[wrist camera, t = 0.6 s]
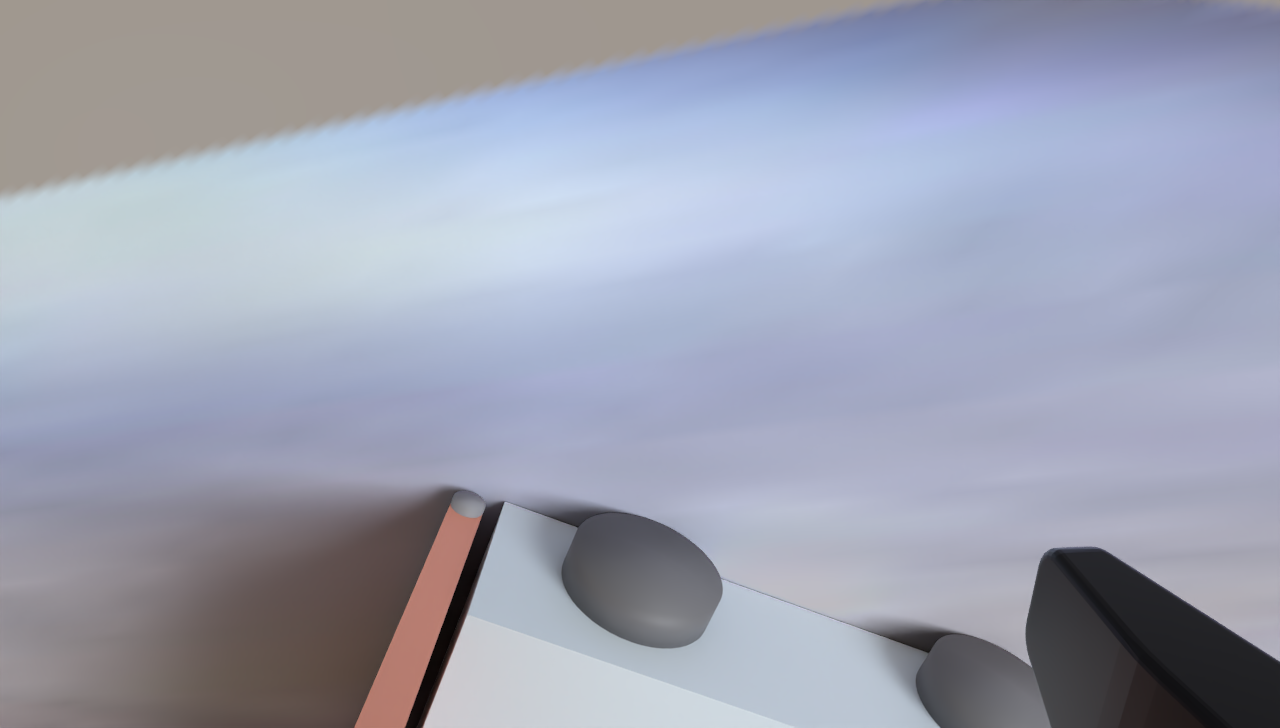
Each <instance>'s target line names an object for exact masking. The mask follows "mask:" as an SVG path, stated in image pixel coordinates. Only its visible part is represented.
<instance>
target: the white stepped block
mask: <svg viewBox="0 0 1280 728" xmlns="http://www.w3.org/2000/svg"><path fill="white" fill-rule="evenodd" d="M417 728H1051V727H1050V723H1049V720H1048V717H1047V714H1046V711H1045V707H1044V704H1043V701H1042V698H1041V694H1040V691H1039V688H1038V685H1037V682H1036V678H1035V675H1034V672H1033V669H1032V668H1031V667H1030V666H1029V665H1028V664H1026V663H1025V662H1023V661H1022V660H1020V659H1019V658H1018V657H1016V656H1014V655H1013V654H1011V653H1009V652H1008V651H1006V650H1004V649H1002V648H1000V647H998V646H996V645H994V644H992V643H990V642H987V641H985V640H982V639H979V638H976V637H972V636H967V635H961V634H952V635H946V636H943V637H941V638H940V639H938V640H937V642H936V643H935V644H934V646H933V648H932V649H931V651H930V652H929V653H927V652H924V651H921V650H919V649H916V648H913V647H910V646H907V645H905V644H902V643H899V642H896V641H893V640H891V639H888V638H885V637H882V636H879V635H877V634H874V633H871V632H868V631H865V630H863V629H860V628H857V627H854V626H852V625H849V624H846V623H843V622H840V621H838V620H835V619H832V618H829V617H826V616H824V615H821V614H818V613H815V612H812V611H810V610H807V609H804V608H801V607H798V606H796V605H793V604H790V603H787V602H784V601H782V600H779V599H776V598H773V597H770V596H768V595H765V594H762V593H759V592H756V591H754V590H751V589H748V588H745V587H743V586H740V585H737V584H734V583H731V582H729V581H726V580H723V579H721V578H720V575H719V573H718V571H717V569H716V567H715V566H714V564H713V563H712V561H711V560H710V559H709V558H708V557H707V555H706V554H705V553H704V552H703V551H702V550H701V549H700V548H698V547H697V546H696V545H695V544H694V543H692V542H691V541H690V540H688V539H687V538H686V537H684V536H683V535H681V534H679V533H678V532H676V531H674V530H673V529H671V528H669V527H667V526H665V525H662V524H660V523H658V522H655V521H653V520H650V519H647V518H644V517H640V516H636V515H630V514H624V513H605V514H599V515H595V516H593V517H590V518H588V519H587V520H585V521H584V522H583V523H582V524H581V525H580V526H579V528H578V527H575V526H572V525H569V524H566V523H564V522H561V521H558V520H555V519H552V518H550V517H547V516H544V515H541V514H538V513H536V512H533V511H530V510H527V509H524V508H522V507H519V506H516V505H513V504H511V503H508V502H505V503H504V505H503V508H502V510H501V513H500V515H499V518H498V520H497V523H496V526H495V528H494V531H493V533H492V536H491V538H490V541H489V544H488V546H487V549H486V551H485V554H484V556H483V559H482V562H481V564H480V567H479V569H478V572H477V574H476V577H475V579H474V582H473V585H472V587H471V590H470V592H469V595H468V597H467V600H466V603H465V605H464V608H463V610H462V613H461V615H460V618H459V621H458V623H457V626H456V628H455V631H454V633H453V636H452V639H451V641H450V644H449V646H448V649H447V651H446V654H445V656H444V659H443V662H442V664H441V667H440V669H439V672H438V674H437V677H436V680H435V682H434V685H433V687H432V690H431V692H430V695H429V698H428V700H427V703H426V705H425V708H424V710H423V713H422V715H421V718H420V721H419V723H418V726H417Z"/></svg>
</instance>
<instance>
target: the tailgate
mask: <svg viewBox="0 0 1280 728" xmlns="http://www.w3.org/2000/svg"><path fill="white" fill-rule="evenodd" d="M485 507H486V503H485V501H484V499H483V498H482V497H481V496H479V495H478V494H476V493H473V492H470V491H458V492H456V493H455V494H454V496H453V498H452V501H451V503H450V506H449V508H448V510H447V513H446V515H445V517H444V520H443V522H442V524H441V527H440V529H439V531H438V534H437V536H436V538H435V541H434V543H433V545H432V548H431V550H430V552H429V555H428V557H427V559H426V562H425V564H424V566H423V569H422V571H421V573H420V576H419V578H418V580H417V583H416V585H415V587H414V590H413V592H412V594H411V597H410V599H409V601H408V604H407V606H406V608H405V611H404V613H403V615H402V618H401V620H400V622H399V624H398V627H397V629H396V631H395V634H394V636H393V638H392V641H391V643H390V645H389V648H388V650H387V652H386V655H385V657H384V659H383V662H382V664H381V666H380V669H379V671H378V673H377V676H376V678H375V680H374V683H373V685H372V687H371V690H370V692H369V694H368V697H367V699H366V701H365V704H364V706H363V708H362V711H361V713H360V715H359V718H358V720H357V722H356V725H355V727H354V728H405V726H406V723H407V721H408V718H409V715H410V712H411V710H412V707H413V704H414V701H415V699H416V696H417V693H418V690H419V688H420V685H421V682H422V679H423V677H424V674H425V671H426V668H427V666H428V663H429V660H430V657H431V655H432V652H433V649H434V646H435V644H436V641H437V638H438V635H439V633H440V630H441V627H442V624H443V622H444V619H445V616H446V613H447V611H448V608H449V605H450V602H451V600H452V597H453V594H454V591H455V589H456V586H457V583H458V580H459V578H460V575H461V572H462V569H463V567H464V564H465V561H466V558H467V556H468V553H469V550H470V547H471V545H472V542H473V539H474V536H475V534H476V531H477V528H478V525H479V523H480V520H481V517H482V514H483V512H484V509H485Z"/></svg>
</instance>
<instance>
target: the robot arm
mask: <svg viewBox="0 0 1280 728" xmlns="http://www.w3.org/2000/svg"><path fill="white" fill-rule="evenodd" d="M1026 646H1027V651H1028V655H1029V659H1030V662H1031V665H1032V669H1033V672H1034V675H1035V678H1036V682H1037V685H1038V688H1039V691H1040V694H1041V698H1042V701H1043V704H1044V707H1045V711H1046V714H1047V717H1048V720H1049V723H1050V727H1051V728H1280V661H1278V660H1276V659H1275V658H1273V657H1272V656H1270V655H1269V654H1267V653H1265V652H1264V651H1262V650H1261V649H1259V648H1258V647H1256V646H1254V645H1253V644H1251V643H1250V642H1248V641H1247V640H1245V639H1243V638H1242V637H1240V636H1239V635H1237V634H1236V633H1234V632H1233V631H1231V630H1229V629H1228V628H1226V627H1225V626H1223V625H1222V624H1220V623H1218V622H1217V621H1215V620H1214V619H1212V618H1211V617H1209V616H1207V615H1206V614H1204V613H1203V612H1201V611H1200V610H1198V609H1196V608H1195V607H1193V606H1192V605H1190V604H1189V603H1187V602H1185V601H1184V600H1182V599H1181V598H1179V597H1178V596H1176V595H1175V594H1173V593H1171V592H1170V591H1168V590H1167V589H1165V588H1164V587H1162V586H1160V585H1159V584H1157V583H1156V582H1154V581H1153V580H1151V579H1149V578H1148V577H1146V576H1145V575H1143V574H1142V573H1140V572H1138V571H1137V570H1135V569H1134V568H1132V567H1131V566H1129V565H1128V564H1126V563H1124V562H1123V561H1121V560H1120V559H1118V558H1117V557H1115V556H1113V555H1112V554H1110V553H1109V552H1107V551H1105V550H1103V549H1101V548H1098V547H1067V548H1053V549H1050V550H1048V551H1047V552H1046V553H1044V555H1043V557H1042V558H1041V561H1040V564H1039V567H1038V572H1037V576H1036V581H1035V586H1034V590H1033V595H1032V599H1031V604H1030V608H1029V613H1028V618H1027V623H1026Z"/></svg>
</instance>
